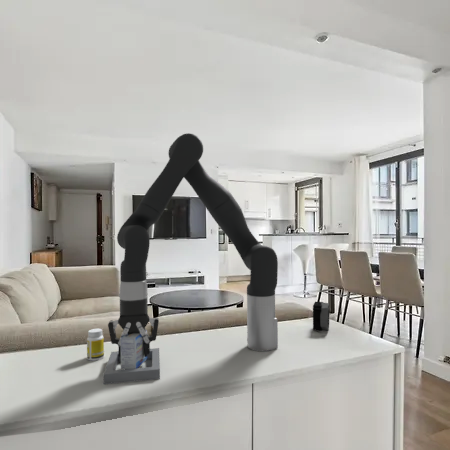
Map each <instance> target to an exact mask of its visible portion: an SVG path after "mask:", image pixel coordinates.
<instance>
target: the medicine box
mask: <svg viewBox="0 0 450 450" xmlns="http://www.w3.org/2000/svg"><path fill="white" fill-rule="evenodd" d="M146 331H147V332H148V330H147V329H146ZM120 337H121V336H120ZM144 344H145V341H144V339H143V337H142V335H141V333H132V334H128V333H127V335H126V336H123V337H121V362H120V370H123V369H134V368H140V366H141V365H142V364H143V363H144V362H145V361H147V360H146V359H147V357H145V347H144Z"/></svg>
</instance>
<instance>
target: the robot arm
mask: <svg viewBox="0 0 450 450" xmlns="http://www.w3.org/2000/svg"><path fill="white" fill-rule="evenodd" d="M203 153H204V144H203V142H202V140H201V139H200V137H199V136H198V135H196V134H194V133H184V134H183V133H182V135H179V137H177V138H176V139H175V140H174V141H173V143H171V144H170V146H169V149H168V158H169V159H168V161H167V163H166V164H165V166H164V168H163V170H162V171H161V172H160V173H159V175H158V177H157V178H156V179H155V180H154V182H153V183H152V184H151V185H150V187H149V188H148V189H147V191H146V193H145V194H144V195H143V197H142V198H141V199H140V200H141V201H140V202H139V204H138V205H137V207H136V208H135V210H134V211H133V212H132V213H131V215H130V216H128V218H127V219H126V220H125V222H124V223H123V224H122V226H121V227H120V228H119V230H118V233H117V236H116V239H117V243H118V245H119V246H120V247H121V248H122V249H124V256H123V258H124V259H123V260H122V261H121V263H120V269H119V272H120V276H119V277H120V281H119V293H118V295H119V296H118V297H119V318H118V319H115V320H109V321H108V323H107V328H108V332H109V337H110V338H109V339H110V343H111V344H112V345H117V346H118V351H119V357H121V337H123V336H126V335H127V333H128V334H132V333H141V335H142V337H143V339H144V341H145V344H144V347H145V357H147V354H149V353H150V349H151V346H150V344H151V342H155V341H156V340H157V334H158V327H159V323H160V322H159V321H160V319H159V317H158V316H157V317H156V316H155V317H150V316H149V314H148V310H149V309H148V307H149V306H148V281H147V261H148V257H149V251H150V250H149V249H150V244H151V243H150V242H151V240H150V235H149V234H150V233H149V232H148V230H149V229H150V227H152V226H153V225H154V224H156V223H158V222H159V220H160V218H161V216H162V215H163V213H164V211H165V209H166V208H167V207H168V205H169V204H170V201H171V199H172V198H173V196H174V194H175V192H176V191H177V189H178V187H179V185H180V184H181V182H182V181H183V180H184V179H185V180H186V182H187V183H188V184H189V185H190V187H191V188H192V189H193V191H194V192H195V194H196V195H197V197H198V198H199V200H200V201H201V202H202V203H203V206H205V209H206V210H207V211H208V213H209V214H210V216H211V217H212V218H213V219H214V221H215V223H216V224H217V225H218V226H219V228H220V229H221V230H222V232H223V233H224V234H225V235H226V236H227V238H228V239H229V240H230V242H231V243H232V244H233V246H234V249H236V251H237V252H238V255H239V256H240V258H241V260H242V262H243V263H244V266H246V268H247V269H248V270H250V280H249V284H248V285H247V287H246V318H247V319H246V322H247V325H246V329H247V330H246V331H247V332H246V333H247V337H246V338H247V339H246V341H247V348H248V349H250V350H252V351H255V352H256V351H257V352H269V351H273V350H274V349H278V346H279V343H278V342H279V339H278V338H279V336H278V331H279V330H278V329H279V328H278V322H279V321H278V318H277V317H276V288H277V285H278V276H279V275H278V274H279V273H278V270H279V269H278V267H279V266H278V261H279V260H278V255H277V253H276V251H275V250H274V248H272V247H270V246H268V245H262V244H261V243H260V242H259V241H258V240H257V239H256V237H255V235H253V233H252V232H251V230H250V228H249V226H248V224H247V221H246V218H245V215H244V212H243V210H242V207H241V206H240V204H238V202H237V200H236V198H235V197H234V196H233V195H232V192H230V191H229V190H228V188H227V187H225V186H224V185H223V184H222V183H220V182H218V180H216V179H215V178H214V177H212V176H211V175H210V174H209V173H208V172H207V171H206V169H205V168H204V166H203V165H202V163H201V162H200V159H201V158H202V156H203ZM149 323H150V326H152V331H151V332H152V333H151V335H149V334H148V330H147V329H146V327H147V325H148V324H149ZM118 325H119V326H120V328H121V329H122V332H121V335H120V337H117V332H116V329H117V327H118ZM146 330H147V331H146Z"/></svg>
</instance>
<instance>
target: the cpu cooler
mask: <svg viewBox="0 0 450 450" xmlns="http://www.w3.org/2000/svg"><path fill="white" fill-rule="evenodd" d="M312 329H313V331H321V332H322V331H325V332H329V331H330V303H329V302H323V301H315V302H314V303H313V304H312Z"/></svg>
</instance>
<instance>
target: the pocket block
mask: <svg viewBox="0 0 450 450" xmlns="http://www.w3.org/2000/svg"><path fill="white" fill-rule="evenodd" d="M148 360H151V362H152V363H151V366H148V367H147V366H146V367H138V368H134V369H117V367H118V363H121V357H119V350H116V351H111V352H110V354H109V357H108V361H107V363H106V365H105V368H104V369H105V370H104V372H103V375H102V376H103V381H102V383H103V385H108V384H110V385H111V384H119V383H120V384H121V383H122V384H123V383H131V382H140V381H151V380H160V378H161V369H160V368H161V365H160V364H161V363H160V362H161V361H160V360H161V359H160V348H159V347H157V348H155V347H154V348H150V353H149V354H147V359H146V360H145V361H148Z"/></svg>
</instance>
